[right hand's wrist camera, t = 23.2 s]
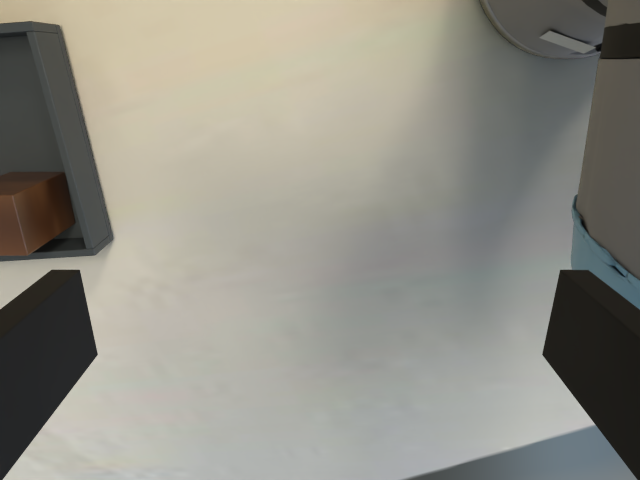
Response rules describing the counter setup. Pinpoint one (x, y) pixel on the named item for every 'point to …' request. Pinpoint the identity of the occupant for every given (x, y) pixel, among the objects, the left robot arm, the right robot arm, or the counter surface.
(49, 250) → the tray
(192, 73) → the counter surface
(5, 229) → the walnut block
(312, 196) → the counter surface
